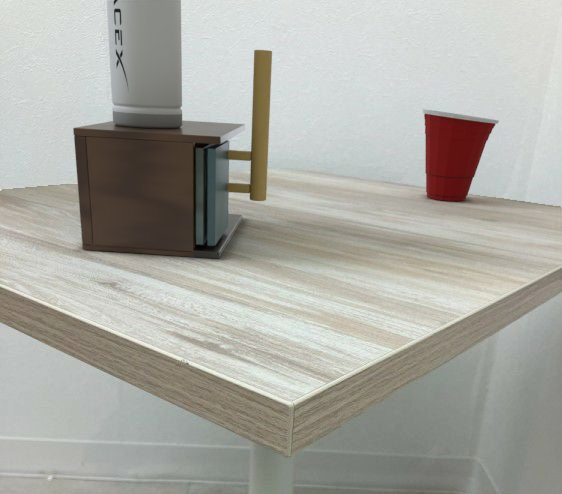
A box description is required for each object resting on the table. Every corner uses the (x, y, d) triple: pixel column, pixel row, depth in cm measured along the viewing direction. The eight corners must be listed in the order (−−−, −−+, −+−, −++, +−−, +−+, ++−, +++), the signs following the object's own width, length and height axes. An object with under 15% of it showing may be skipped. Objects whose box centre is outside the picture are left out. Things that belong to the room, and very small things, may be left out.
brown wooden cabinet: (242, 219, 73) (245, 124, 69) (219, 258, 57) (220, 136, 53) (136, 212, 74) (132, 117, 70) (82, 249, 57) (72, 127, 53)
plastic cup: (493, 206, 91) (510, 115, 86) (417, 202, 91) (430, 111, 86) (474, 194, 101) (488, 112, 96) (405, 190, 101) (416, 108, 96)
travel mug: (175, 124, 63) (171, -126, 55) (188, 129, 58) (186, -149, 49) (109, 122, 61) (95, -138, 53) (116, 127, 56) (102, -163, 47)
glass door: (265, 229, 65) (273, 51, 58) (257, 248, 57) (265, 46, 50) (221, 226, 65) (223, 48, 58) (207, 245, 57) (207, 43, 50)
